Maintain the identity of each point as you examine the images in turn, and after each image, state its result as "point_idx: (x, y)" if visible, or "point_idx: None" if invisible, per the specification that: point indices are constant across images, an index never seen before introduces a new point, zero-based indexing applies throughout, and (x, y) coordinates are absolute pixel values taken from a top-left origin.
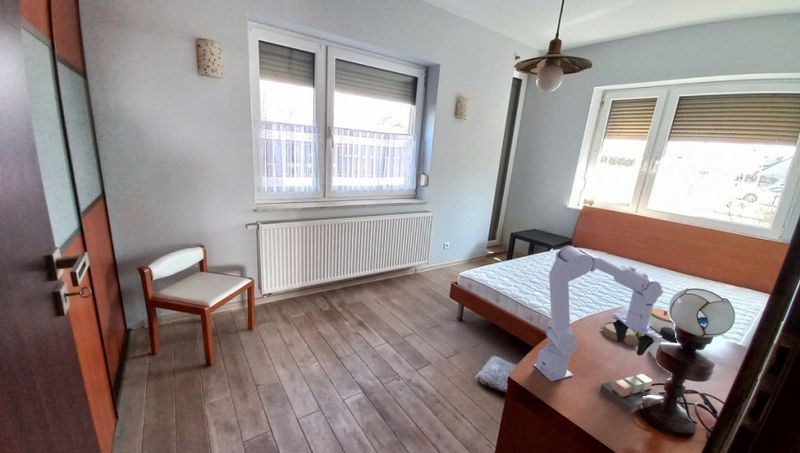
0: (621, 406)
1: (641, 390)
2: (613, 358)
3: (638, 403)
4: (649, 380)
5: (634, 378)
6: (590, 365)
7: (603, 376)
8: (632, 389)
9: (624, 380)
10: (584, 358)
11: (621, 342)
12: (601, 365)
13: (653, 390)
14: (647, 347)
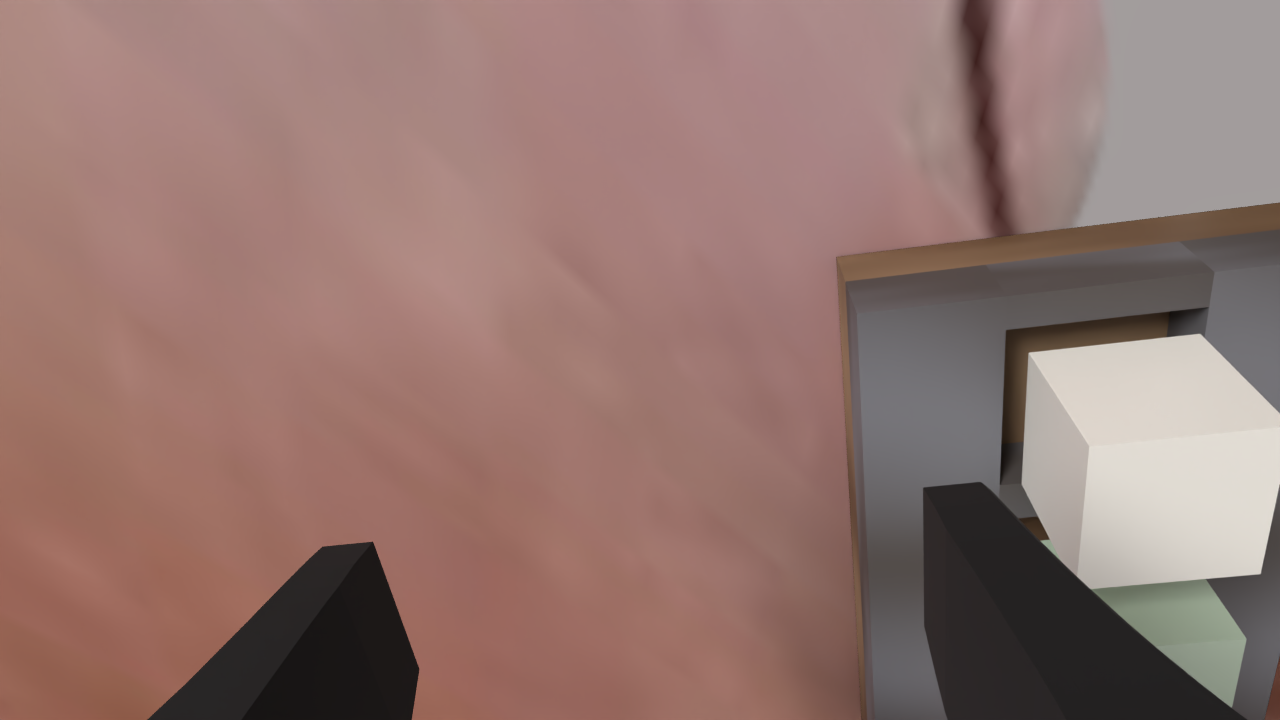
0: None
1: (1073, 346)
2: (256, 41)
3: (1269, 668)
4: (1261, 479)
5: None
6: (442, 531)
7: (661, 526)
8: None
9: (910, 524)
10: (291, 507)
11: (387, 596)
12: (445, 392)
13: (1227, 284)
14: (1159, 683)
